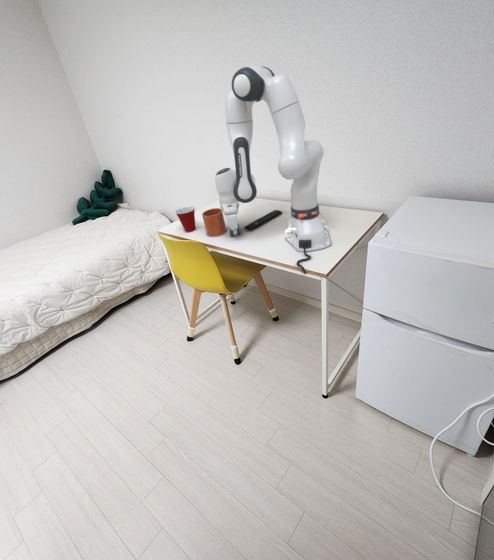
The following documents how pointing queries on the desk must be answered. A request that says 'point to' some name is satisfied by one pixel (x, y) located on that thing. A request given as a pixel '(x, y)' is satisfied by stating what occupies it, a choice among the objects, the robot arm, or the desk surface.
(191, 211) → the plastic cup
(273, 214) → the remote control
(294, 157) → the robot arm
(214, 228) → the terracotta cup
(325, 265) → the desk surface
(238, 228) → the teal block
